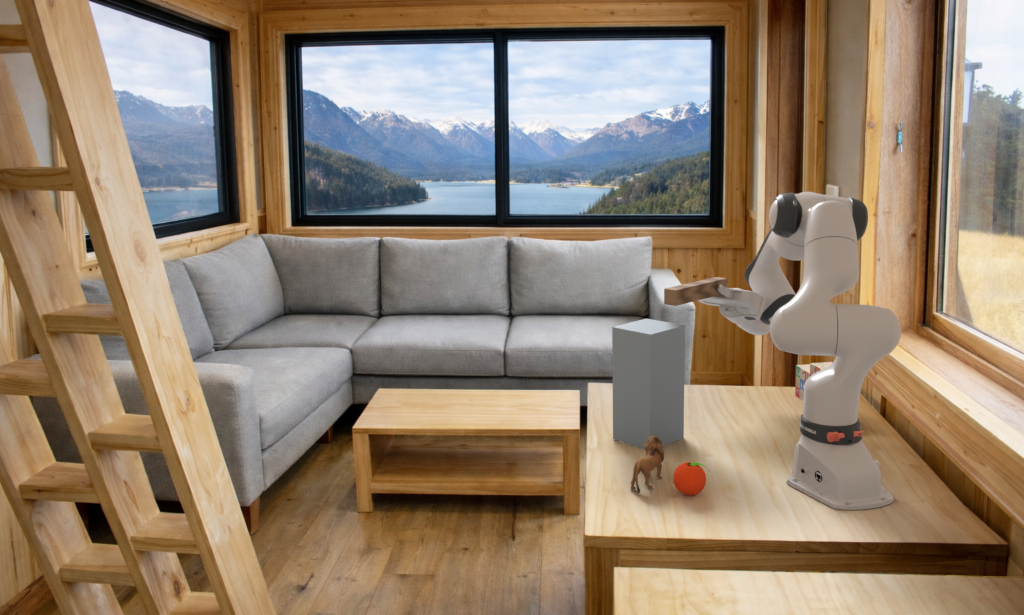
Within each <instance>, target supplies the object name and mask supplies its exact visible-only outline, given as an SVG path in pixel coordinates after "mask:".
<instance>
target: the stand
mask: <svg viewBox="0 0 1024 615" xmlns="http://www.w3.org/2000/svg"><path fill="white" fill-rule="evenodd" d="M611 328H612V329H611V334H612V335H611V337H612V341H611V342H612V347H611V348H612V349H611V351H612V353H611V354H612V355H611V356H612V360H611V361H612V440H613V439H615V440H614V441H616V440H618V441H617V442H619V441H622V442H624V443H623V444H625V443H627V444H626V445H629V444H630V446H632V447H635V446H636V447H635V448H638V449H641V450H645V448H644V447H643V443H645V442H647V439H648V438H649V437H650V436H657V437H658V438H660V439H661V441H662V444H663V447H665V446H667V445H670V444H672V443H674V442H678V441H680V440H682V439H684V435H685V434H684V432H685V430H684V426H685V424H684V423H685V422H684V421H685V356H686V355H685V351H686V350H685V348H686V346H685V344H686V343H685V340H686V337H685V336H686V335H685V334H686V325H685V324H680V323H673V322H670V321H669V322H668V321H663V320H658V319H652V318H643V319H639V320H635V321H631V322H627V323H623V324H620V325H619V324H618V325H615V326H612V327H611ZM622 442H621V443H622ZM645 451H646V450H645Z"/></svg>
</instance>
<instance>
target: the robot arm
mask: <svg viewBox="0 0 1024 615" xmlns="http://www.w3.org/2000/svg"><path fill="white" fill-rule="evenodd" d="M868 213H869V212H868V208H867V206H866V204H865V203H864V202H863V201H862V200H861V199H857V198H854V197H841V196H837V195H836V196H835V195H830V194H823V193H817V192H813V191H803V192H799V193H794V192H784V193H780V194H778V195H777V196H776V197H775V198H774V199H773V202H772V204H771V205H770V208H769V212H768V222H769V226H770V229H769V232H768V233H767V234H766V236H765V238H764V240H763V242H762V244H761V246H760V247H759V250H758V251H757V252H756V253H757V254H756V255H755V257H754V259H753V260H752V261H751V262H750V263H749V264H748V266H747V267H746V269H745V271H744V276H743V278H744V281H745V282H746V283H747V285H748V286H749V288H750V289H751V290H745V289H742V288H739V287H728V286H727V287H724V286H723V285H719V284H717V285H716V288H715V291H717V292H718V293H722V295H718V296H714V297H710V298H706V299H702V300H698V301H697V302H699V303H701V304H704V305H707V306H713V307H718V311H719V313H720V314H721V316H723V317H724V318H725V319H726V320H728V321H730V322H731V323H732V324H735V325H736V326H737V327H738V328H739V329H742V330H743V331H745V332H746V333H748V334H751V335H754V336H765V335H767V334H770V339H771V341H772V343H773V344H774V346H775V347H776V348H777V349H778V350H779V351H781V352H786V353H790V354H794V355H799V356H817V357H818V356H820V357H821V356H822V357H823V356H824V357H825V356H826V357H828V356H829V357H834V358H835V359H834V360H833V362H832V364H831V365H830V366H829V367H827V368H825V369H823V370H820V371H818V372H816V373H814V374H813V375H811V376H810V377H809V378H808V379H807V380H806V382H805V385H804V400H803V401H802V402H803V404H802V405H803V406H802V414H801V415H800V419H799V432H800V433H801V434H800V437H799V439H798V442H797V443H796V445H795V447H794V453H793V461H792V465H791V466H792V468H791V474H790V475H789V476H787V478H786V484H787V485H789V486H790V487H793V488H794V489H796V490H798V491H800V492H802V493H804V494H806V495H807V496H810V497H811V498H813V499H815V500H817V501H818V502H821V503H823V504H824V505H826V506H829V507H830V508H833V509H835V510H846V511H847V510H848V511H849V510H850V511H851V510H853V511H854V510H856V511H857V510H858V511H859V510H867V509H875V508H881V507H884V506H888V505H890V504H892V503H893V502H894V496H893V494H891V493H890V492H889V491H888V490H887V489H886V488H885V487H884V486H883V485H882V473H881V463H880V461H878V459H877V460H874V458H873V456H872V455H871V453H870V452H869V449H868V448H867V447H866V446H865V443H864V442H863V436H864V437H865V434H863V433H865V430H862V425H861V423H860V419H859V418H858V417H859V407H860V406H859V405H860V398H861V392H862V391H861V390H862V387H863V386H862V385H863V384H864V380H865V379H866V376H867V375H868V373H869V372H870V371H871V370H872V368H873V367H874V366H875V365H876V364H877V363H879V361H881V360H882V359H883V358H885V357H886V356H888V355H890V354H891V353H892V352H893V351H894V350H895V349H896V347H897V346H898V344H899V342H900V340H901V335H902V327H901V323H900V321H899V318H898V317H897V315H896V314H895V312H894V311H892V309H890V308H886V307H880V306H876V305H871V304H852V303H850V304H847V303H846V304H845V303H844V304H841V303H840V304H838V303H832V302H831V301H830V300H832V299H833V298H835V297H836V296H839V295H841V294H844V293H846V292H847V291H849V290H850V289H852V288H853V287H854V286H855V285H856V284H857V282H858V280H859V277H860V266H859V265H860V263H859V249H858V248H859V247H858V246H859V245H858V241H860V239H861V238H862V237H863V236H864V235H865V233H866V230H867V227H868V223H869V214H868ZM780 258H783V259H785V260H789V261H803V260H804V261H803V264H804V265H803V276H802V281H801V285H800V286H799V289H798V290H797V292H795V290H794V289H793V287H792V286H791V284H790V282H789V280H788V279H787V277H786V275H785V273H784V272H783V270H782V267H781V265H780V262H779V261H780Z"/></svg>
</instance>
